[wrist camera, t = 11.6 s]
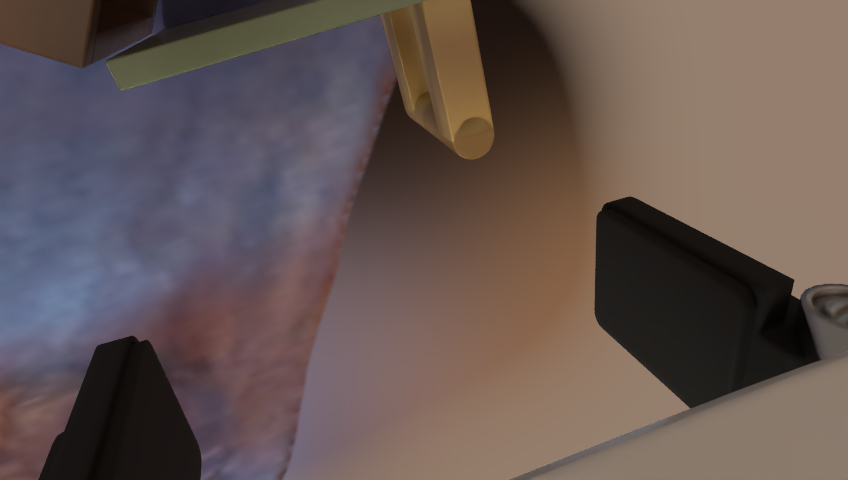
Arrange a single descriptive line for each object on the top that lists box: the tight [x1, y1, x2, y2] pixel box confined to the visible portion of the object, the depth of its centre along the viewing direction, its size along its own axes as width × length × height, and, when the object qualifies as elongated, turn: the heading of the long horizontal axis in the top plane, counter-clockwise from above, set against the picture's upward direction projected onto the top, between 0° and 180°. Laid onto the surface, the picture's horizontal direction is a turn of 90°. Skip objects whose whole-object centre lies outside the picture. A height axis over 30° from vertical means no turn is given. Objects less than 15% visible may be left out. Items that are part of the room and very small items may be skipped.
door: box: [106, 0, 494, 159], centre depth 26 cm, size 8×14×14 cm, turn 104°
